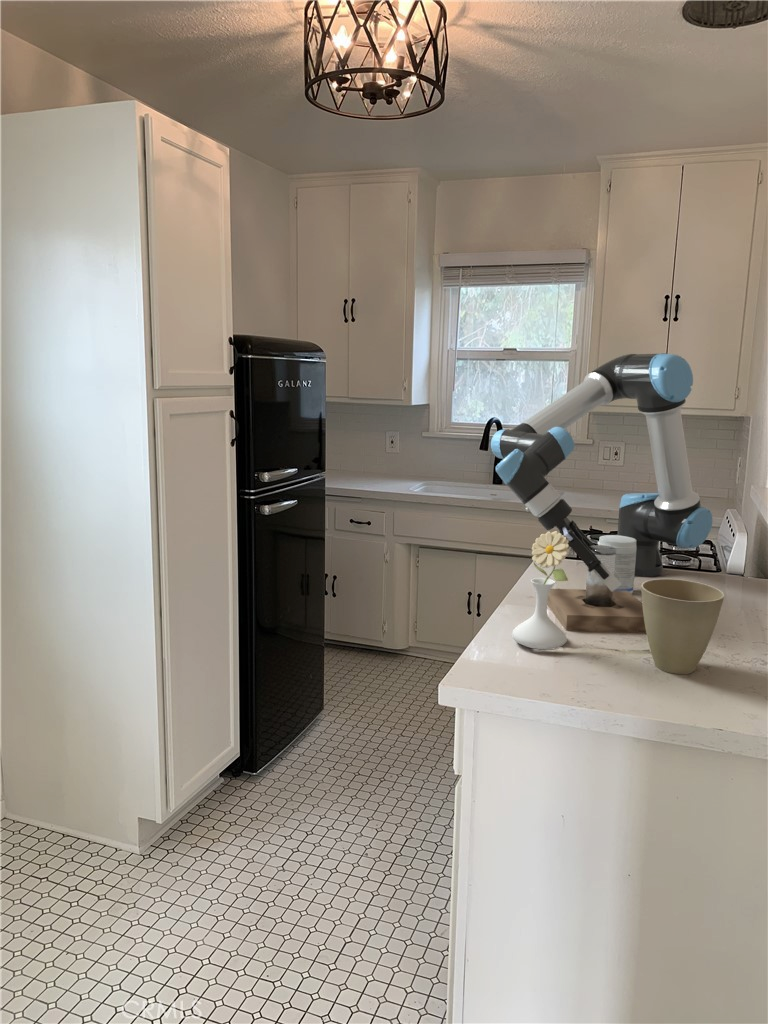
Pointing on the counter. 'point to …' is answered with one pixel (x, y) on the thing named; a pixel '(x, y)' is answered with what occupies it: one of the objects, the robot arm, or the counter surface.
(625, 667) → the counter surface
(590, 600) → the silver capped jar
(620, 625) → the walnut socket block
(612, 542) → the supplement tub
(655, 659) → the plant pot
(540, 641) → the flower in vase
